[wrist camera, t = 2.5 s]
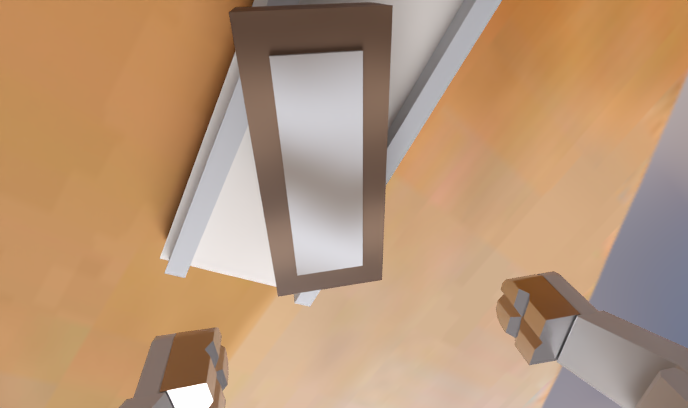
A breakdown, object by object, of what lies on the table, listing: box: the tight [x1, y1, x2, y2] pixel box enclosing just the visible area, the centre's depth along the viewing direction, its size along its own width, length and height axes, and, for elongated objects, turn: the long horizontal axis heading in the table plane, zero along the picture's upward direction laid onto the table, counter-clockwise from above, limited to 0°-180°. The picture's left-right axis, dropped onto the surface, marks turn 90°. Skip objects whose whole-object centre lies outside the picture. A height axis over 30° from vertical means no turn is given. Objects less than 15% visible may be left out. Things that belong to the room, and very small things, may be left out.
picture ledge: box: [160, 0, 502, 306], centre depth 21 cm, size 22×11×3 cm, turn 151°
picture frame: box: [229, 2, 393, 296], centre depth 18 cm, size 14×6×4 cm, turn 1°
